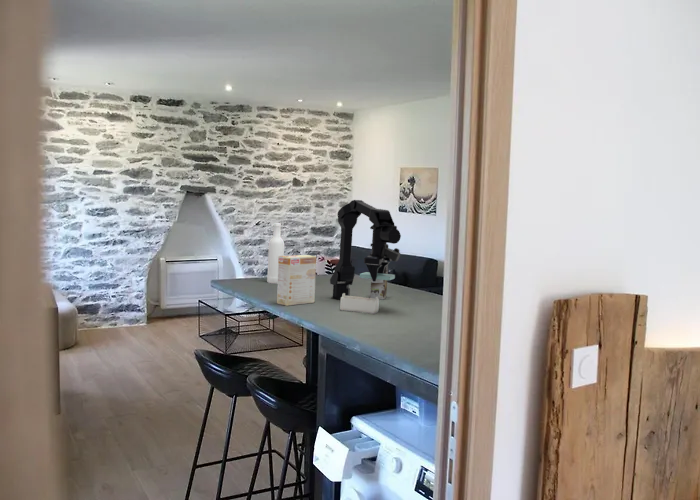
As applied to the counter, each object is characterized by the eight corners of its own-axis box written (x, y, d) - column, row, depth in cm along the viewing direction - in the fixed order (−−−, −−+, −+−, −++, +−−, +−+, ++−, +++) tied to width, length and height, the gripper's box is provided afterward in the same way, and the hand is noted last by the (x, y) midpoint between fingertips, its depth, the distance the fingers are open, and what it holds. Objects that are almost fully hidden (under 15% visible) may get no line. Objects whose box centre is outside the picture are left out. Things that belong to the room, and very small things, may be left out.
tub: (339, 310, 242) (340, 294, 241) (344, 307, 247) (345, 292, 247) (374, 313, 237) (375, 298, 237) (378, 311, 243) (379, 295, 242)
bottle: (264, 282, 306) (267, 222, 303) (269, 280, 313) (271, 222, 311) (280, 284, 304) (283, 223, 302) (284, 282, 312) (287, 223, 310)
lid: (359, 277, 244) (359, 273, 244) (365, 275, 251) (365, 272, 251) (389, 280, 240) (389, 276, 240) (394, 278, 247) (394, 274, 246)
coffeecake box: (304, 300, 260) (306, 254, 259) (315, 302, 255) (317, 256, 254) (275, 303, 250) (277, 255, 248) (286, 306, 245) (288, 257, 243)
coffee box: (383, 299, 272) (386, 263, 271) (369, 298, 273) (371, 262, 272) (386, 296, 281) (388, 261, 280) (373, 295, 282) (374, 260, 281)
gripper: (392, 244, 233) (390, 285, 234) (405, 241, 250) (402, 279, 251) (364, 242, 236) (362, 282, 238) (378, 239, 254) (376, 277, 255)
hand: (377, 280), depth 245 cm, fingers closed on lid, 7 cm apart
